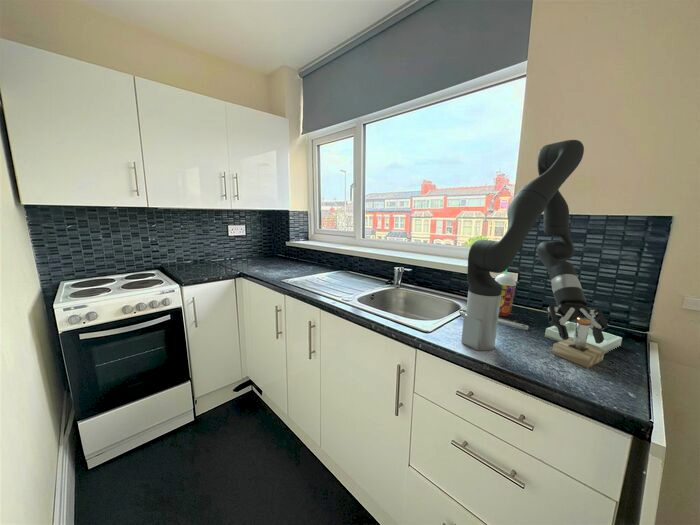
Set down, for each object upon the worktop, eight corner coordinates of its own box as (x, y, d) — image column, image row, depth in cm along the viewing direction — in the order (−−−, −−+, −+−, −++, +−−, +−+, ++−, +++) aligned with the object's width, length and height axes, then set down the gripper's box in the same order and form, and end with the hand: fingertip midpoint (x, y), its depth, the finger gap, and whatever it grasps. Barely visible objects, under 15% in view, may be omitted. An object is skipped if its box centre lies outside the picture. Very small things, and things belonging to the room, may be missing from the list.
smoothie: (492, 309, 123) (498, 264, 119) (514, 313, 117) (520, 267, 114) (487, 314, 117) (492, 267, 113) (509, 319, 111) (515, 270, 108)
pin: (580, 360, 81) (587, 321, 79) (568, 355, 84) (574, 317, 82) (585, 358, 82) (592, 319, 80) (573, 353, 85) (580, 315, 83)
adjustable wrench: (529, 329, 103) (529, 325, 103) (524, 335, 99) (525, 330, 98) (462, 311, 120) (462, 307, 120) (455, 315, 116) (455, 311, 116)
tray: (598, 356, 83) (600, 347, 83) (544, 336, 96) (545, 328, 96) (620, 346, 90) (622, 337, 90) (567, 328, 103) (568, 321, 103)
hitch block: (587, 368, 77) (589, 357, 77) (551, 353, 85) (553, 344, 84) (602, 360, 81) (604, 350, 81) (567, 347, 89) (568, 338, 89)
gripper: (547, 284, 88) (561, 333, 79) (600, 287, 85) (620, 339, 76) (538, 295, 94) (549, 342, 85) (586, 299, 91) (603, 348, 82)
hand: (582, 340), depth 81 cm, fingers open, 8 cm apart
